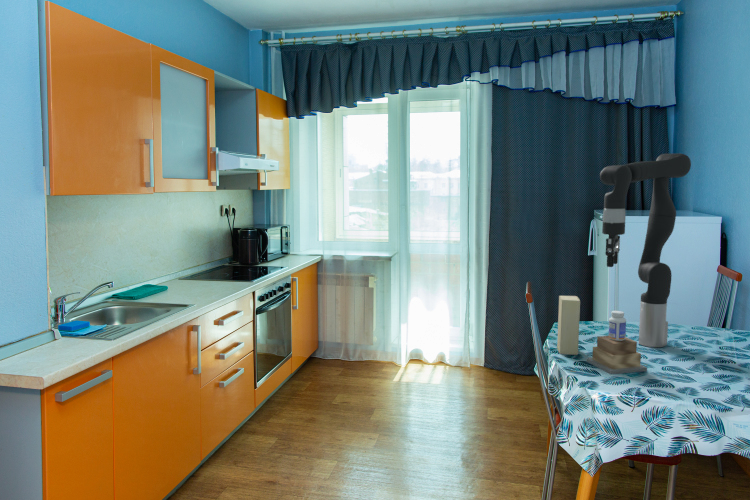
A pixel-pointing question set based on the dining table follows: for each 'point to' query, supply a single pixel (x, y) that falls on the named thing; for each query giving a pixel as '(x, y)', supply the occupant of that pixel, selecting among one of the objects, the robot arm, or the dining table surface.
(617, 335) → the pill bottle
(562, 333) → the tall beige block
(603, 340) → the brown block
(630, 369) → the base plate
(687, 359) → the dining table surface
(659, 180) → the robot arm
